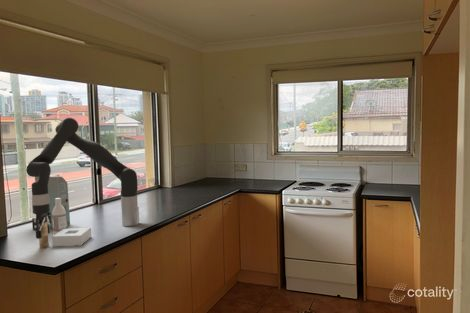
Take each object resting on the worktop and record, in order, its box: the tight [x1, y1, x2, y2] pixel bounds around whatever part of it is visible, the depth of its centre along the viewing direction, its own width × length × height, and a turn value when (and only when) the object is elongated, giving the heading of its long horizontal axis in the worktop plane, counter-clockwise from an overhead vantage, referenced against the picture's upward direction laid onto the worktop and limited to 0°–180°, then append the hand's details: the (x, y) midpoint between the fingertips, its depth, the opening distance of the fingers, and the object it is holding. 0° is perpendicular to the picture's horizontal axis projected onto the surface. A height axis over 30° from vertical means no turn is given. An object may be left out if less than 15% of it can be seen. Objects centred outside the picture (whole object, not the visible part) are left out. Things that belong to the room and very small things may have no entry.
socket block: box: [51, 227, 92, 247], centre depth 194 cm, size 14×14×5 cm
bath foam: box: [52, 198, 68, 236], centre depth 207 cm, size 7×7×20 cm
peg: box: [38, 222, 50, 249], centre depth 187 cm, size 4×4×12 cm
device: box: [34, 174, 71, 229], centre depth 226 cm, size 16×8×30 cm, turn 73°
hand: (43, 235), depth 187 cm, fingers open, 8 cm apart
